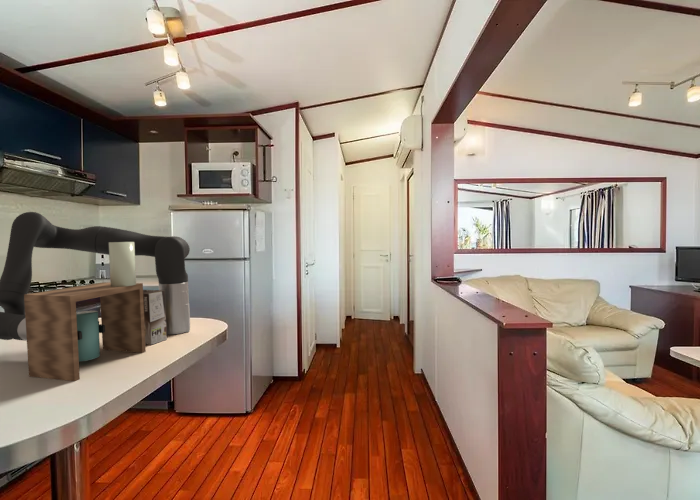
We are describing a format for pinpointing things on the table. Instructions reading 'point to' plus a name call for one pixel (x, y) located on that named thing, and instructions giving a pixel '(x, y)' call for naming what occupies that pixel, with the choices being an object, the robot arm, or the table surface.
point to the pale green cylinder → (122, 264)
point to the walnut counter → (61, 326)
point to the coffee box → (154, 316)
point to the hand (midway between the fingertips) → (92, 332)
